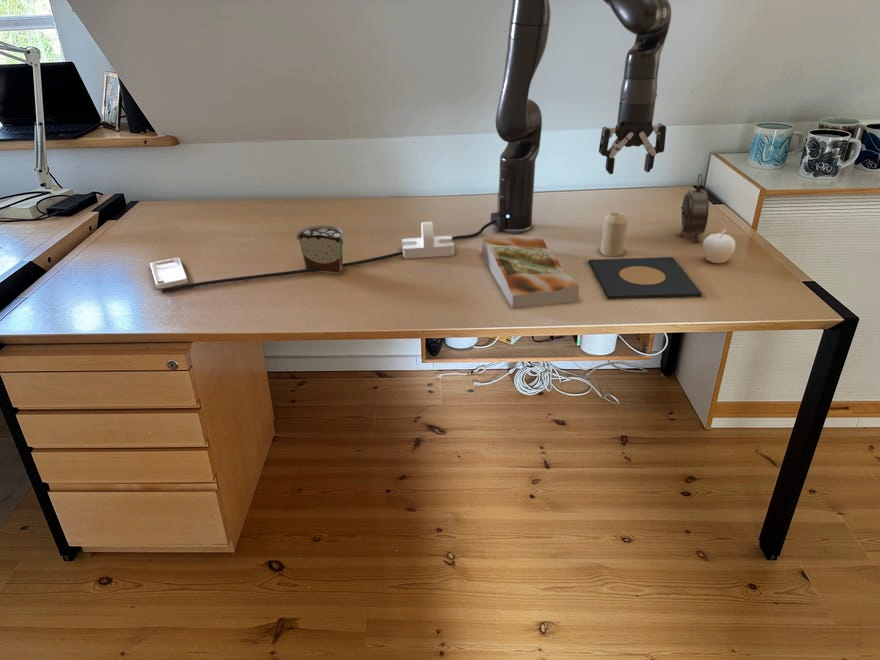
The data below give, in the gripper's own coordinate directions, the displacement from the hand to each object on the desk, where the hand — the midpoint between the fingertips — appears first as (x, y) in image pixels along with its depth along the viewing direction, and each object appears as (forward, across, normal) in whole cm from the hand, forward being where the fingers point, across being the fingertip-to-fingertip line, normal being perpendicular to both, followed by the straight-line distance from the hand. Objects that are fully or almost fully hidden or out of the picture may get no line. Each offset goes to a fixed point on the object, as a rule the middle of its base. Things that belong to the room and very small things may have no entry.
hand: (628, 172), depth 156 cm
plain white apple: (+21, -21, +7) cm, 31 cm away
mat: (+20, -1, +15) cm, 25 cm away
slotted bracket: (+20, +47, -8) cm, 52 cm away
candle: (+20, +1, -1) cm, 21 cm away
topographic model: (+20, +25, +11) cm, 34 cm away
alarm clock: (+20, -21, -9) cm, 31 cm away
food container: (+20, +72, -1) cm, 75 cm away
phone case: (+20, +112, -1) cm, 114 cm away
